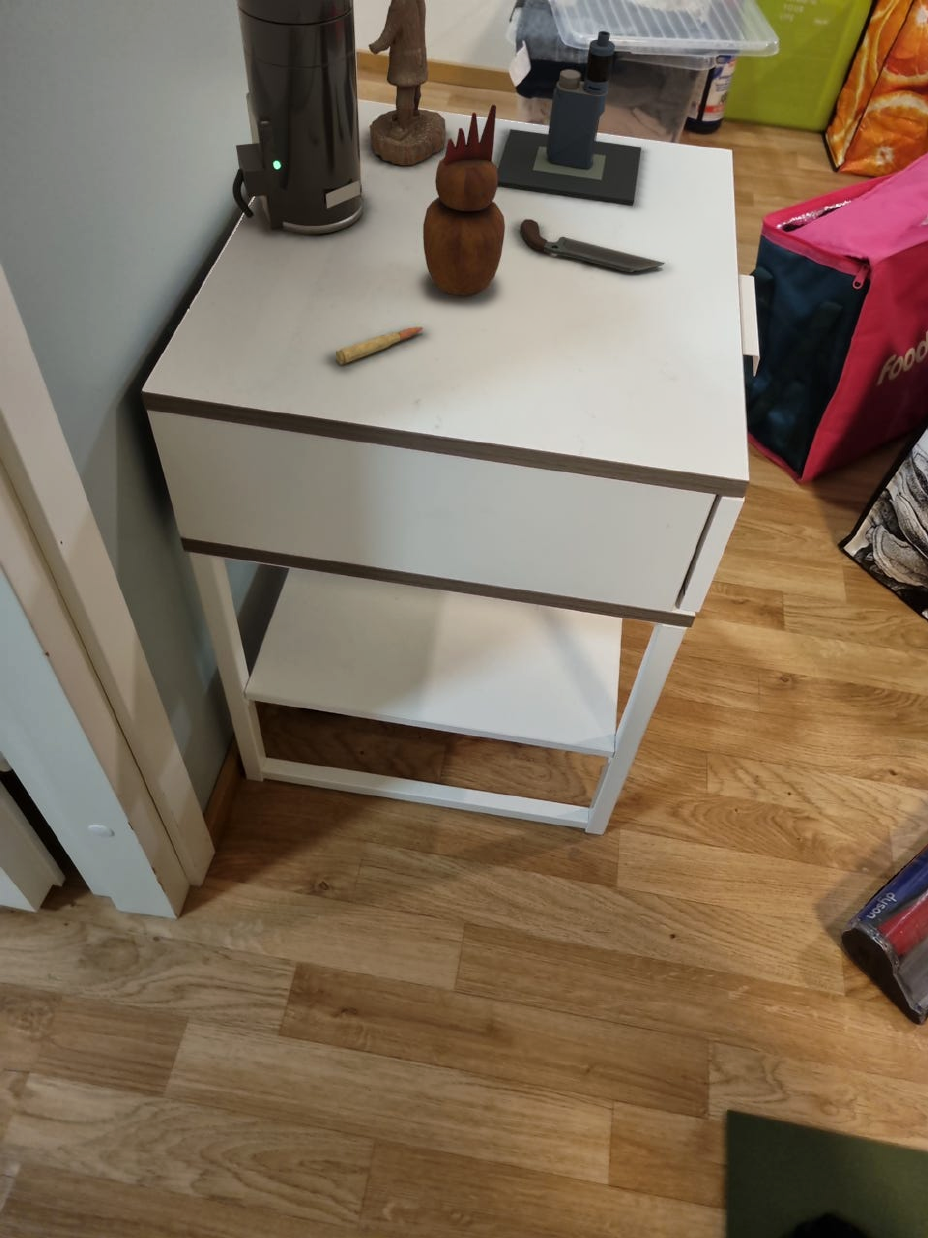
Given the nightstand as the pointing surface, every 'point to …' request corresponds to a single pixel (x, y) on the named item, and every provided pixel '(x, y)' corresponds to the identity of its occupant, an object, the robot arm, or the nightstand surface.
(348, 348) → the bullet
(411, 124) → the figurine
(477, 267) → the wooden figurine
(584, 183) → the mat
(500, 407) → the nightstand surface
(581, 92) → the vaping device
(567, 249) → the knife
